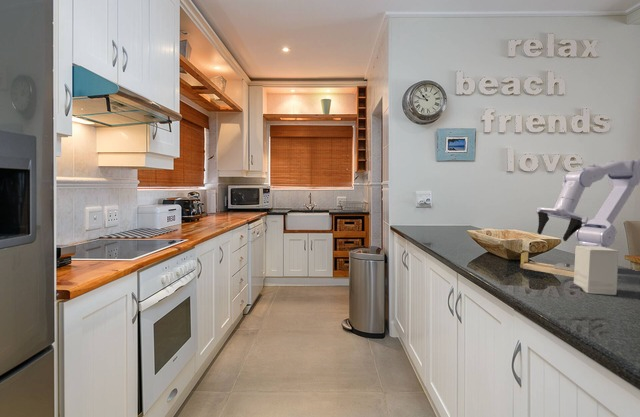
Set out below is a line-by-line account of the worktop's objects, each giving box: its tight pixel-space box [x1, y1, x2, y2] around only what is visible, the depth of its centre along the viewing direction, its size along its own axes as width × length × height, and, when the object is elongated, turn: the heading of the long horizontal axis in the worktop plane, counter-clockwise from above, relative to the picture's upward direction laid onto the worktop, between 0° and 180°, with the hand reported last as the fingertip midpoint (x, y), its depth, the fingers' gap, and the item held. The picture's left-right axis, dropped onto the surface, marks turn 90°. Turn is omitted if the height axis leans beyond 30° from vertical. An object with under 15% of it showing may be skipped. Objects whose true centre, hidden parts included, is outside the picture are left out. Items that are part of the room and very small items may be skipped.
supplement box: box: [573, 245, 620, 296], centre depth 95 cm, size 7×7×13 cm
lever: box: [520, 251, 529, 265], centre depth 120 cm, size 4×1×5 cm, turn 129°
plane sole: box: [519, 260, 574, 278], centre depth 114 cm, size 7×17×2 cm, turn 39°
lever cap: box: [553, 262, 575, 271], centre depth 110 cm, size 5×6×2 cm
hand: (551, 236), depth 111 cm, fingers open, 7 cm apart
